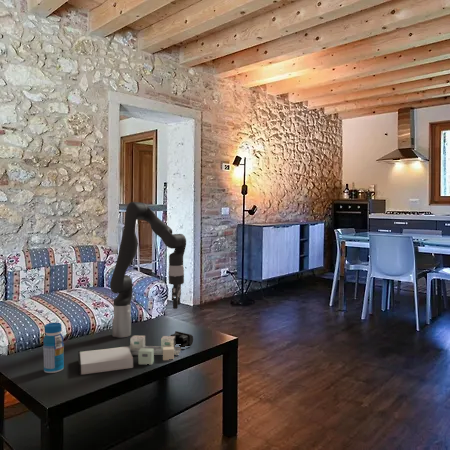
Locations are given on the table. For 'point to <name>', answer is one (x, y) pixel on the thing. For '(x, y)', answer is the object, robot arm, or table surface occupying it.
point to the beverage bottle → (53, 348)
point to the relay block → (168, 353)
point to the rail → (166, 341)
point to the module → (146, 356)
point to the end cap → (183, 339)
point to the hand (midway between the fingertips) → (176, 306)
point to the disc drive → (104, 360)
